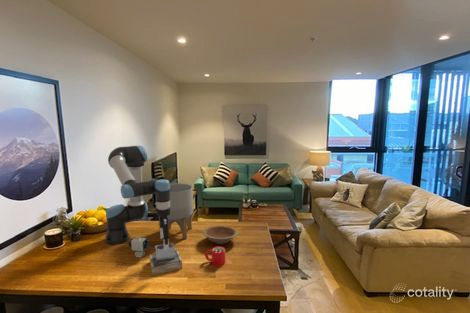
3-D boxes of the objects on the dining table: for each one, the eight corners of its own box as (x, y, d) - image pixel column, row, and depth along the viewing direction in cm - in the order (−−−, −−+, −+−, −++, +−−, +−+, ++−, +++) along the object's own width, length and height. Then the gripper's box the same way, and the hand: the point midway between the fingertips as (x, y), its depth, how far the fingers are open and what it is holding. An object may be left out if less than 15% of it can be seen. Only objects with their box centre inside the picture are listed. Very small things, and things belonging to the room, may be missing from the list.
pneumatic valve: (146, 259, 155) (145, 240, 153) (129, 257, 157) (127, 238, 156) (151, 254, 160) (150, 236, 159) (134, 252, 163) (133, 234, 161)
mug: (206, 258, 156) (206, 245, 155) (226, 258, 155) (226, 246, 154) (203, 265, 148) (203, 252, 147) (224, 266, 148) (224, 253, 146)
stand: (149, 262, 152) (149, 254, 151) (177, 256, 158) (177, 248, 157) (152, 275, 139) (151, 266, 138) (182, 268, 145) (182, 260, 145)
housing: (173, 253, 153) (172, 242, 152) (175, 258, 147) (174, 247, 146) (155, 257, 149) (154, 245, 148) (156, 262, 143) (156, 250, 142)
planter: (182, 223, 207) (180, 181, 202) (200, 233, 189) (199, 187, 184) (152, 232, 190) (150, 187, 185) (169, 244, 172) (167, 194, 167)
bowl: (244, 243, 174) (244, 232, 173) (213, 254, 161) (213, 241, 160) (225, 231, 193) (225, 220, 192) (196, 239, 180) (196, 228, 179)
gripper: (153, 201, 153) (155, 235, 157) (159, 217, 131) (160, 256, 134) (166, 199, 156) (167, 233, 160) (174, 214, 134) (175, 253, 137)
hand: (164, 243), depth 147 cm, fingers open, 13 cm apart
